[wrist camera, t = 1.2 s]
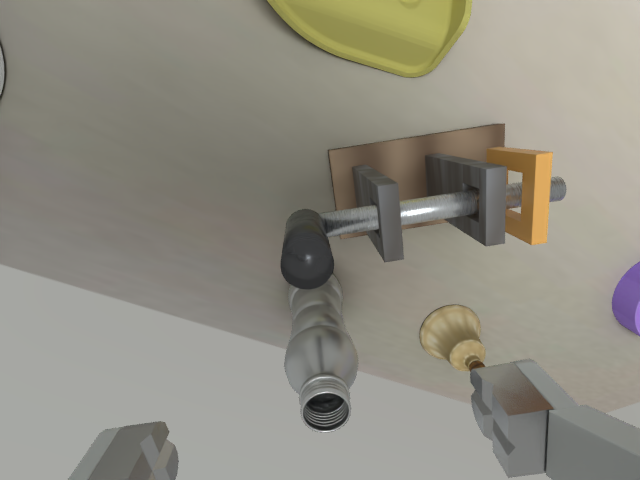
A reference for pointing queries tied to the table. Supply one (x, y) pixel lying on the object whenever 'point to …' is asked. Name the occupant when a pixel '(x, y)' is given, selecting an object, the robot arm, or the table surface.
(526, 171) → the frame
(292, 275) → the shaft
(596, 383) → the table surface
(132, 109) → the table surface
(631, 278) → the masking tape
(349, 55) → the plastic component
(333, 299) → the plastic bottle
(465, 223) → the shaft frame
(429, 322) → the hand bell
